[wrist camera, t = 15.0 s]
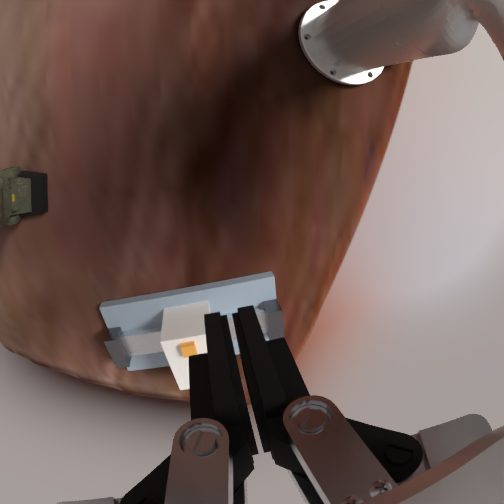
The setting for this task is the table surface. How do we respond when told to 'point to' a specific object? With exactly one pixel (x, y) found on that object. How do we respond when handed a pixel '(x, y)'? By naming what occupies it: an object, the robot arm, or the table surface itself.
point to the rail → (148, 338)
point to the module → (183, 337)
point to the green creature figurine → (21, 194)
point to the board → (152, 305)
